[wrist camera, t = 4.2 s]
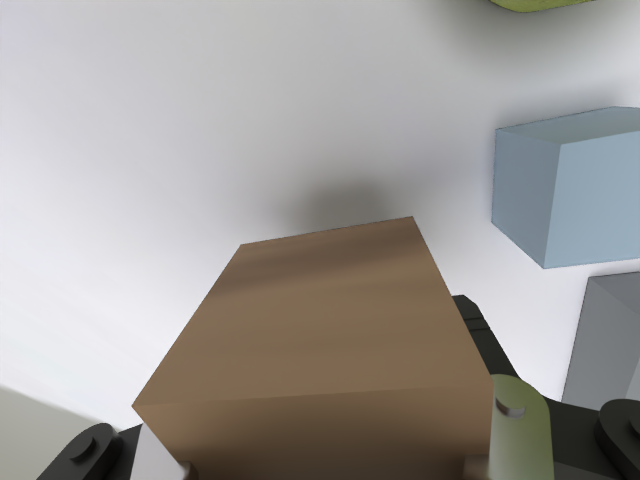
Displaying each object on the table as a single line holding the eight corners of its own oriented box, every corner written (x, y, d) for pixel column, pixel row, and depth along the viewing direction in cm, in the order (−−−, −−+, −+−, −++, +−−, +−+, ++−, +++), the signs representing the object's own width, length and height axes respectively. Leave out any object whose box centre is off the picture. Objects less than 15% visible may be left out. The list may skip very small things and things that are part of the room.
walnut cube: (241, 244, 10) (131, 406, 5) (412, 216, 9) (493, 383, 4) (286, 359, 13) (243, 544, 8) (423, 347, 12) (483, 552, 7)
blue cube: (495, 129, 14) (560, 144, 10) (611, 106, 13) (742, 112, 9) (491, 221, 16) (543, 269, 12) (591, 207, 16) (688, 252, 11)
